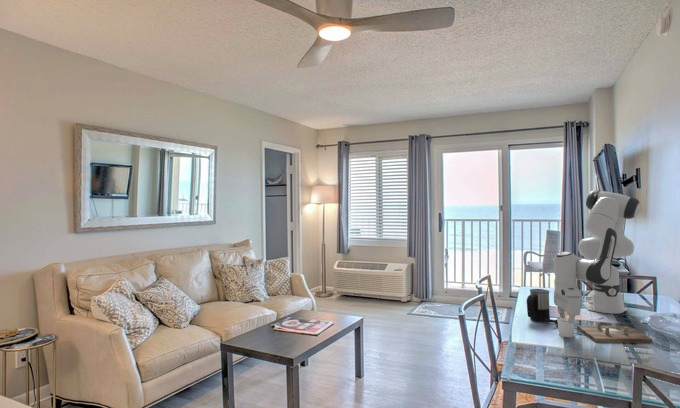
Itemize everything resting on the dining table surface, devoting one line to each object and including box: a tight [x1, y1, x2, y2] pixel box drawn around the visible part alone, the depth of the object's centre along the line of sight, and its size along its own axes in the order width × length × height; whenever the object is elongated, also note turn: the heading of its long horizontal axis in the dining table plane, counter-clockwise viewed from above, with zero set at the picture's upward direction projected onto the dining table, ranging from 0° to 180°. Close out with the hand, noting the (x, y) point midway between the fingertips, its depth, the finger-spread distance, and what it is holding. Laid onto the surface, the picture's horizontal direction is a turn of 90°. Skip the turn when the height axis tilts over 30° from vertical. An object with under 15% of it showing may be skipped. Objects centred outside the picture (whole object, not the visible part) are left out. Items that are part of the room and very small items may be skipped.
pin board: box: [576, 321, 653, 344], centre depth 182 cm, size 18×22×5 cm
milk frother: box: [526, 288, 558, 326], centre depth 205 cm, size 14×16×15 cm
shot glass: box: [556, 317, 575, 338], centre depth 185 cm, size 7×7×7 cm
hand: (566, 320), depth 184 cm, fingers open, 8 cm apart
